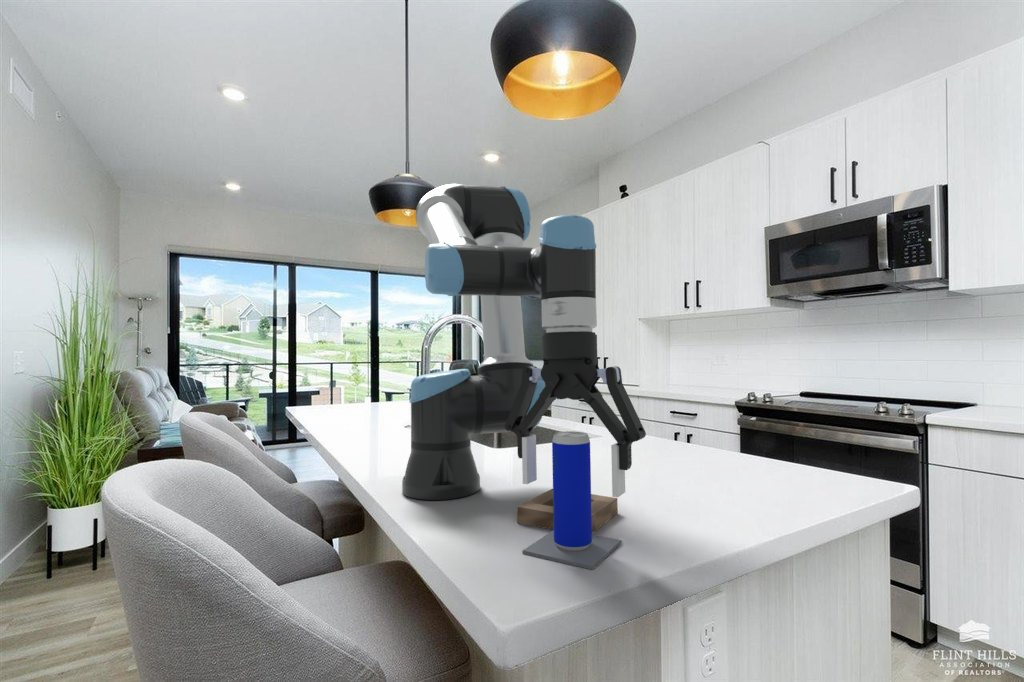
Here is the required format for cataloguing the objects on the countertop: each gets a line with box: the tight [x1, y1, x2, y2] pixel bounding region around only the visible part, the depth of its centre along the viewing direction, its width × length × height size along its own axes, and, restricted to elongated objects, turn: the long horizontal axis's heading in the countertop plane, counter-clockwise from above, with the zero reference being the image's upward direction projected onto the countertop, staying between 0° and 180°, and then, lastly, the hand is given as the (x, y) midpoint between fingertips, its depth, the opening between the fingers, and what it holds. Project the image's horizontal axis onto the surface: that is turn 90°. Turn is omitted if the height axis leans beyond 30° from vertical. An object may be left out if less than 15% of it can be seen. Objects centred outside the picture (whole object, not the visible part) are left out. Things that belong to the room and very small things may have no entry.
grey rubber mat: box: [522, 529, 622, 570], centre depth 68 cm, size 10×10×1 cm
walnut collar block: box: [516, 488, 619, 534], centre depth 81 cm, size 12×12×2 cm
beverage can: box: [551, 430, 593, 551], centre depth 69 cm, size 5×5×15 cm
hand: (572, 488), depth 68 cm, fingers open, 13 cm apart
